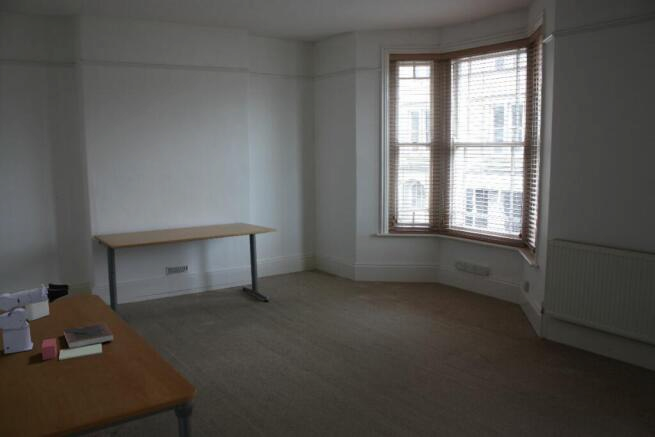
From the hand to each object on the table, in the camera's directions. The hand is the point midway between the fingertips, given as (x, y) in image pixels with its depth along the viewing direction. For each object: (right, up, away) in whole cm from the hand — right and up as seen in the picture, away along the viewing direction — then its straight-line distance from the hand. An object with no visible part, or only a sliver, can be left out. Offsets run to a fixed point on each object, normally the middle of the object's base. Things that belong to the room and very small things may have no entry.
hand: (68, 289), depth 231 cm
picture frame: (+6, -21, +5) cm, 22 cm away
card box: (-2, -24, -12) cm, 27 cm away
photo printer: (-31, -18, +36) cm, 51 cm away
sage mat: (+10, -23, -10) cm, 27 cm away
